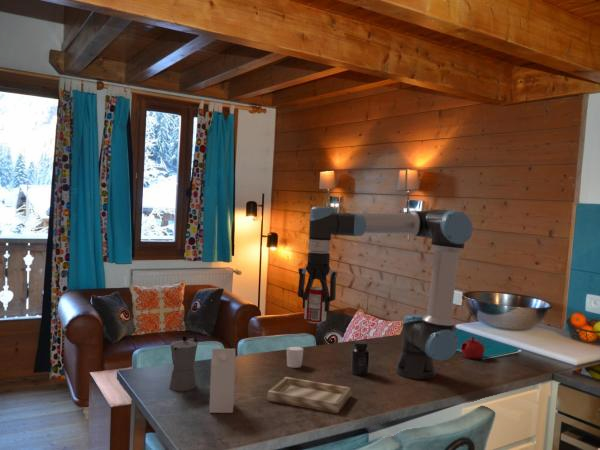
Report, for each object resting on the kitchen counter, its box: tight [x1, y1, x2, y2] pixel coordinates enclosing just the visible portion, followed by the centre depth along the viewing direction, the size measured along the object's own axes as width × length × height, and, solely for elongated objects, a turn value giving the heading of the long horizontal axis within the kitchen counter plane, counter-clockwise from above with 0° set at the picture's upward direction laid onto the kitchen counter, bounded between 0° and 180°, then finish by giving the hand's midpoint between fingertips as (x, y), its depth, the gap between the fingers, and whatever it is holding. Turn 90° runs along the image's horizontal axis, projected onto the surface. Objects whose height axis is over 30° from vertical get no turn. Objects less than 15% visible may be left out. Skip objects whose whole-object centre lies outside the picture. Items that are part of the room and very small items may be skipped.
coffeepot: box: [169, 334, 199, 392], centre depth 184 cm, size 15×9×18 cm, turn 162°
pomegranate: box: [460, 336, 485, 360], centre depth 234 cm, size 10×10×9 cm
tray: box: [266, 376, 352, 414], centre depth 178 cm, size 24×16×3 cm, turn 70°
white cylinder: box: [285, 345, 304, 369], centre depth 212 cm, size 7×7×7 cm
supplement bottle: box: [350, 340, 370, 376], centre depth 206 cm, size 7×7×12 cm
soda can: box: [306, 286, 325, 324], centre depth 182 cm, size 6×6×12 cm
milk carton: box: [208, 348, 236, 414], centre depth 165 cm, size 7×7×19 cm
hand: (315, 319), depth 182 cm, fingers closed on soda can, 5 cm apart
